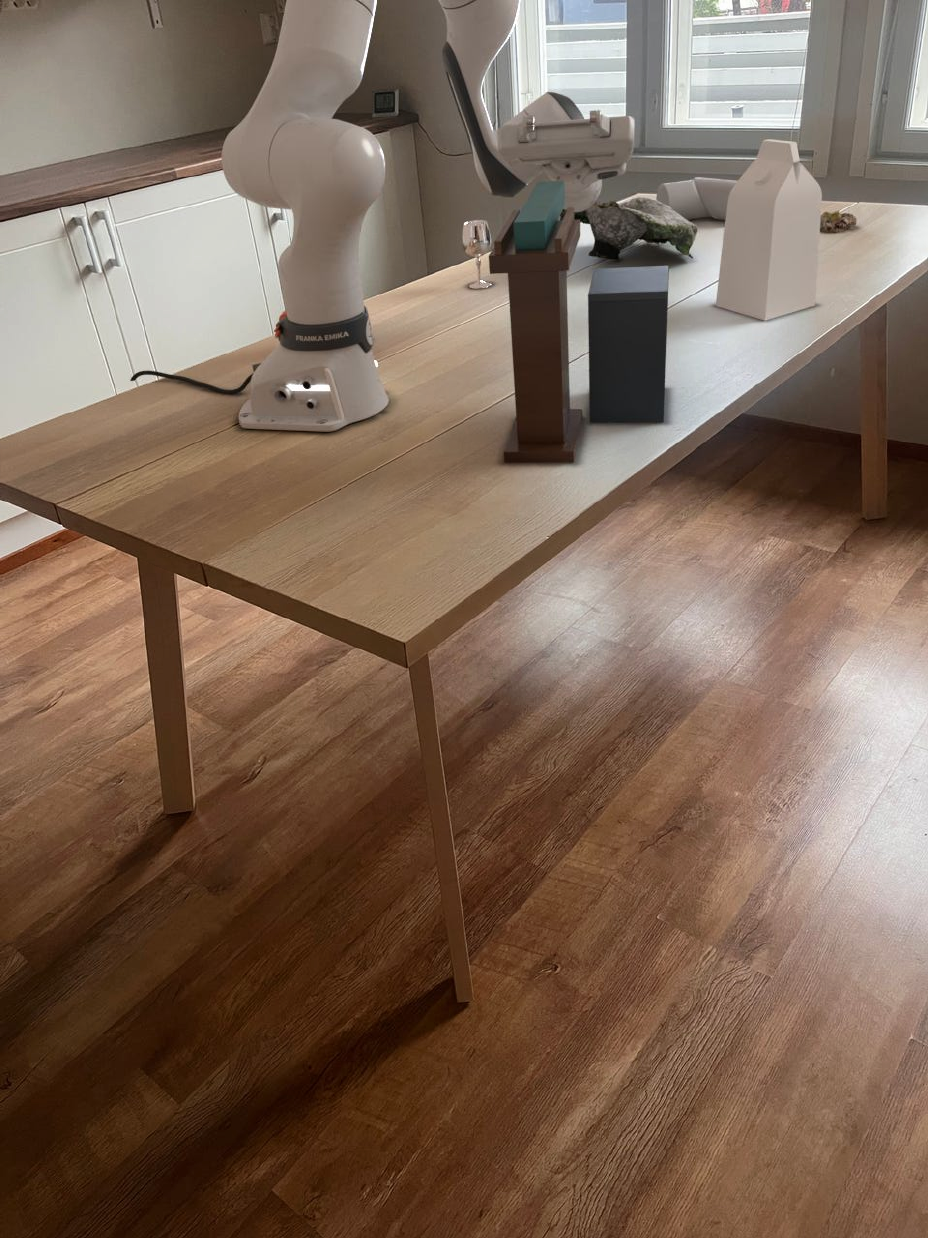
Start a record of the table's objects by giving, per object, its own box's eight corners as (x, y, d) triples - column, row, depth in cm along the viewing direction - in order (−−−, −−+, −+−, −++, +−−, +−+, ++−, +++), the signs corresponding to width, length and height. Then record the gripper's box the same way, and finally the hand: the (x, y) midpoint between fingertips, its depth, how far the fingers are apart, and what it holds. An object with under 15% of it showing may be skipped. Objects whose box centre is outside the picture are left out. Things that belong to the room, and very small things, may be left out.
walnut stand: (519, 416, 135) (508, 210, 120) (583, 415, 133) (579, 206, 118) (503, 465, 122) (487, 241, 107) (573, 465, 120) (567, 237, 105)
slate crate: (595, 390, 141) (594, 268, 131) (664, 389, 139) (668, 265, 129) (589, 423, 131) (587, 293, 121) (663, 422, 129) (668, 291, 119)
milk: (815, 305, 164) (835, 138, 149) (765, 320, 160) (780, 150, 145) (764, 291, 173) (778, 132, 158) (715, 305, 169) (725, 143, 154)
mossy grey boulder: (535, 241, 188) (549, 159, 184) (569, 266, 216) (582, 196, 212) (682, 259, 180) (700, 174, 176) (698, 283, 207) (713, 210, 204)
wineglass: (463, 289, 191) (457, 226, 184) (469, 281, 195) (464, 219, 189) (490, 289, 190) (486, 225, 183) (496, 281, 194) (492, 218, 187)
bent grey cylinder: (732, 200, 230) (652, 211, 228) (739, 155, 222) (657, 166, 220) (762, 232, 218) (678, 244, 216) (770, 185, 210) (684, 197, 208)
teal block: (538, 206, 127) (537, 181, 125) (564, 204, 126) (564, 180, 125) (515, 250, 109) (513, 222, 107) (545, 248, 108) (544, 220, 106)
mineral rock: (861, 211, 206) (856, 209, 199) (858, 233, 207) (853, 231, 200) (809, 212, 210) (802, 210, 204) (807, 234, 212) (800, 232, 205)
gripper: (504, 139, 149) (488, 100, 136) (636, 130, 145) (634, 88, 132) (503, 181, 150) (488, 146, 136) (635, 173, 146) (632, 136, 132)
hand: (561, 117), depth 134 cm, fingers open, 8 cm apart
